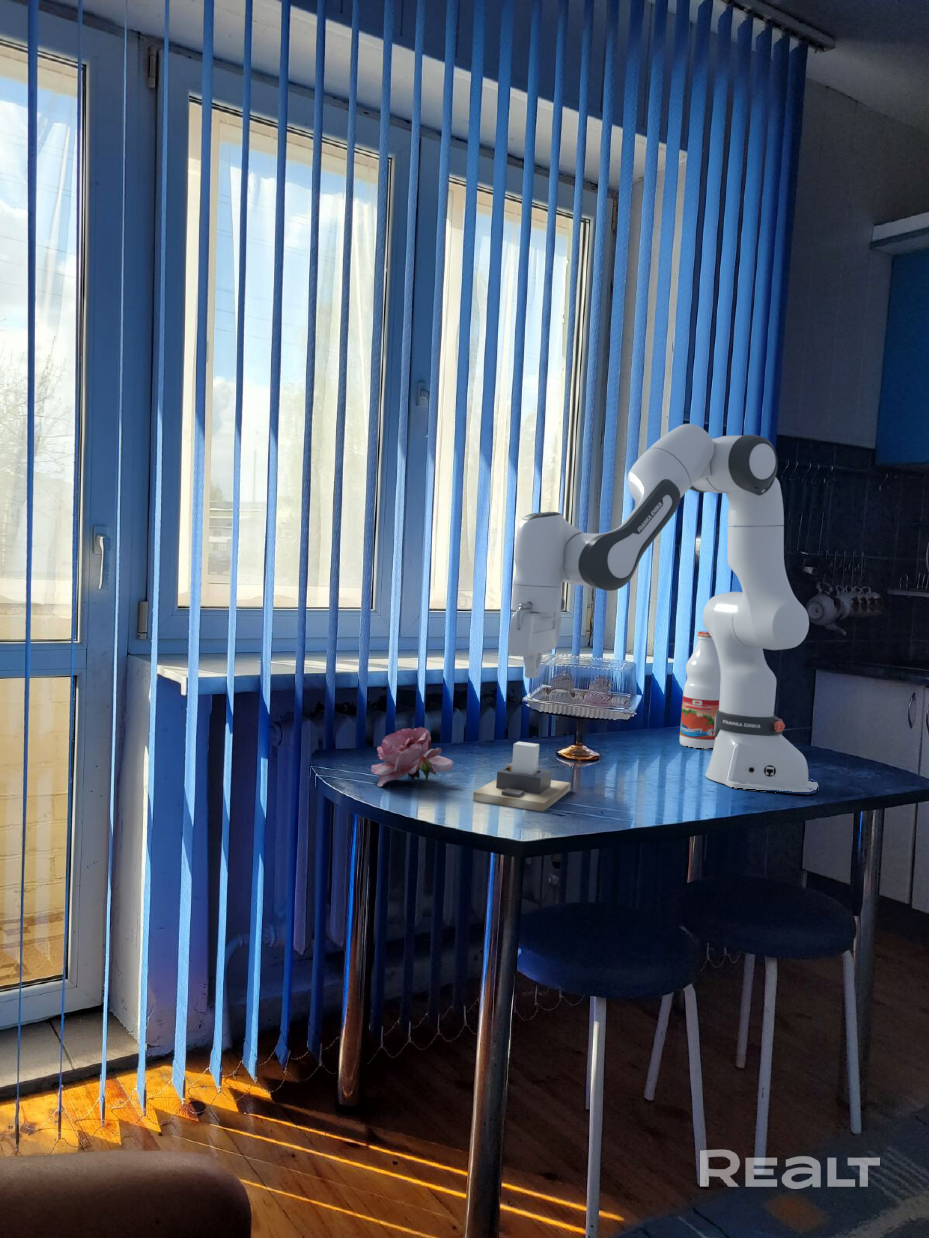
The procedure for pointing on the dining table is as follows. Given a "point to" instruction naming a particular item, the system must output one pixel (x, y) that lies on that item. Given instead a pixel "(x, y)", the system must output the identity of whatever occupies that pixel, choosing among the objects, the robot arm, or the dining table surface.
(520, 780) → the box
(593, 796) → the dining table surface
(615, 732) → the dining table surface
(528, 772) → the plug
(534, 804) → the board
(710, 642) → the fruit juice
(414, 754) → the flower
